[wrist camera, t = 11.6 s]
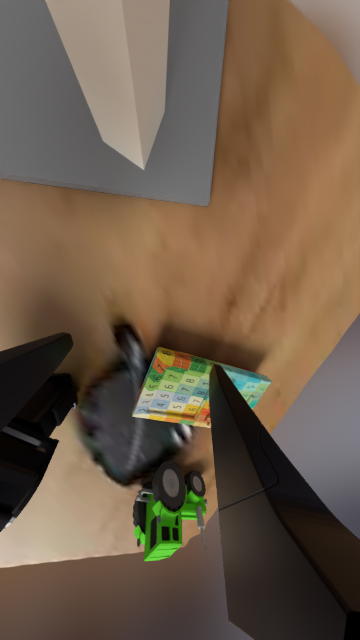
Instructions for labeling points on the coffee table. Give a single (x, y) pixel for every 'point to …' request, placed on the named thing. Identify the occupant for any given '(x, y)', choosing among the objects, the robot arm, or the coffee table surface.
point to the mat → (77, 120)
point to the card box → (119, 66)
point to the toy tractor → (167, 510)
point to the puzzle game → (189, 388)
